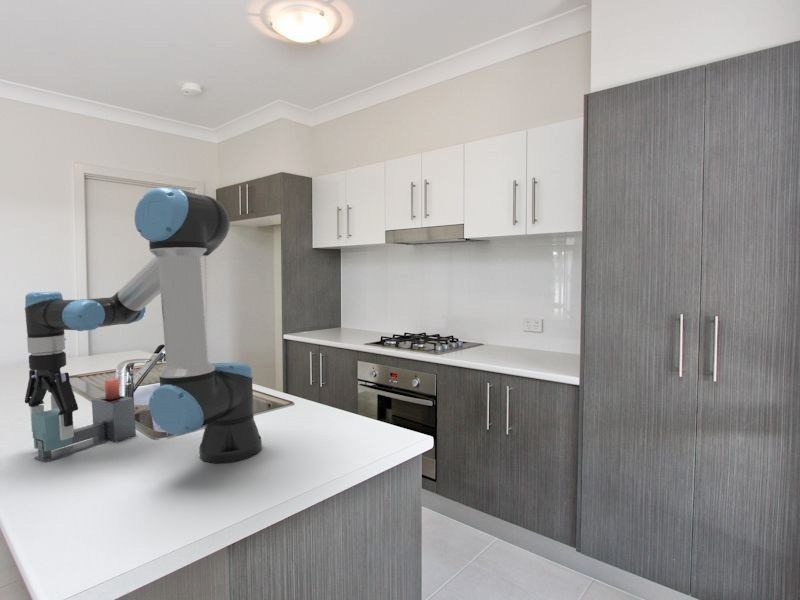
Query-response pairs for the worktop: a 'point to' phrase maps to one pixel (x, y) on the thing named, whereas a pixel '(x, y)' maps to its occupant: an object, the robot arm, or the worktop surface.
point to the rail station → (98, 427)
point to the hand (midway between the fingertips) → (52, 434)
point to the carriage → (48, 430)
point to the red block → (112, 388)
